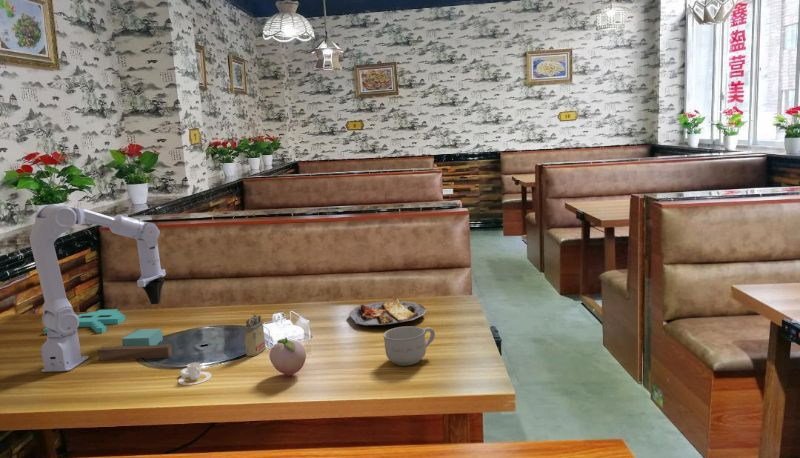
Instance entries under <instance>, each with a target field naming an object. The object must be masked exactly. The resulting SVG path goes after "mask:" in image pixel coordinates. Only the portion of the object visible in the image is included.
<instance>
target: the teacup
mask: <svg viewBox="0 0 800 458" xmlns="http://www.w3.org/2000/svg"><path fill="white" fill-rule="evenodd" d="M428 332H429V337H428V339H426V334H427V333H428ZM382 335H383V340H384V342H383V343H384V350H385V355H386V357H387V359H388V360H389V361H390V362H392V363H393V364H395V365H397V366H403V367H404V366H411V365H415V364H418V363H419V362H420V361H421V360H422V359H423V358H424V356H425V354H426V352H427V348H428V346H429V345H430V344H431V343H433V341H434V339H435V337H436V332H435V330H434V329H433V328H432V327H429V326H428V327H424V328H423V327H419V326H412V325H411V326H410V325H409V326H407V325H405V326H399V327H394V328H391V329H388V330H386V331H385V332H384V333H383V334H382Z"/></svg>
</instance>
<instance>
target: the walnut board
mask: <svg viewBox="0 0 800 458" xmlns="http://www.w3.org/2000/svg"><path fill="white" fill-rule="evenodd" d="M97 352H98V360H99V361H111V360H112V361H113V360H114V361H116V360H117V361H118V360H137V359H138V360H140V359H139V358H144V359H168V358H171V356H172V346H171V344H157V345H150V346H124V347H123V346H105V347H100V348H99V349H97Z"/></svg>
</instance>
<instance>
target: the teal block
mask: <svg viewBox="0 0 800 458" xmlns="http://www.w3.org/2000/svg"><path fill="white" fill-rule="evenodd" d="M162 340H163V341H164V338H163V331H162V328H140V329H134V330H133V331H132V332H130V333H128V334H126V336H124V337H122V338H121V343H122V347H124V346H150V345H159V344H160V343H161V342H163V341H162ZM160 341H161V342H160ZM159 342H160V343H159ZM158 343H159V344H158Z"/></svg>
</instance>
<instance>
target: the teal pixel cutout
mask: <svg viewBox="0 0 800 458" xmlns="http://www.w3.org/2000/svg"><path fill="white" fill-rule="evenodd" d="M76 315H77V316H78V317H79V326H78V328H90V329H91V330H93V332H95V334H104V333H106V332H107V326H106V325H119V324H121V323H122V322H124V321H126V315H125V314H123V312H121V311H120V310H118V309H117V308H115V309H113V308H112V309H98V310H95V311H89V312H87V313H80V314H76ZM47 332H48V329H47V328H46V327H45V328H43V334H44V335H45V334H47ZM103 332H104V333H103Z"/></svg>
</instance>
